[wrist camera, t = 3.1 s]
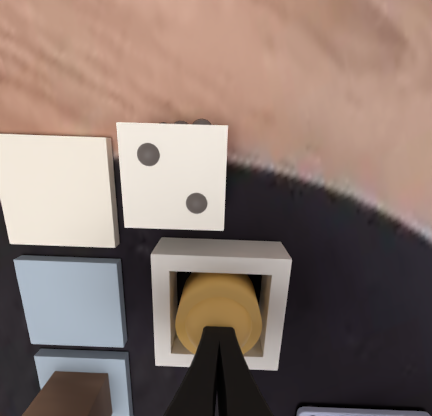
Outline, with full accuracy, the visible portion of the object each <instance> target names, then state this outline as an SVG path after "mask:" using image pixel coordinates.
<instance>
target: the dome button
mask: <svg viewBox="0 0 432 416" xmlns="http://www.w3.org/2000/svg"><path fill="white" fill-rule="evenodd" d="M205 326H217V327H233V328H234V329H235V333H236V337H237V340H238V343H239V346H240V348H241V351H242V354H245V353H246V352H248V351H249V350H250V349H251V348H252V347H253V346H254V345H255V344H256V343H257V341H258V339H259V337H260V335H261V331H262V318H261V314H260V310H259V306H258V301H257V297H256V293H255V289H254V286H253V283H252V281H251V279H250V278H249V276H248V275H247V274H232V273H206V272H192V273H191V274H190V276H189V277H188V278H187V280H186V282H185V284H184V287H183V291H182V295H181V299H180V303H179V307H178V311H177V315H176V319H175V328H176V333H177V335H178V338H179V340H180V341H181V343H182V344H183V345H184V346H185V347H186V348H187V349H188V350H189V351H190V352H192V353H193V354H195V353H196V351H197V348H198V345H199V342H200V339H201V336H202V332H203V328H204V327H205Z"/></svg>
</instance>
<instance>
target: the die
mask: <svg viewBox="0 0 432 416" xmlns="http://www.w3.org/2000/svg"><path fill="white" fill-rule="evenodd" d="M116 125H117V137H118V150H119V163H120V175H121V188H122V200H123V213H124V226H125V228H153V229H184V230H215V231H224V213H225V188H226V162H227V137H228V126H227V125H211V123H210V122H209V121H207V120H205V119H198V120H196V121H195V122H194V123H193V124H188V123H186V122H184V121H177V122H175V123H174V124H168V123H165V122H162V123H159V124H158V123H123V122H116Z"/></svg>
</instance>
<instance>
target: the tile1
mask: <svg viewBox="0 0 432 416" xmlns="http://www.w3.org/2000/svg"><path fill="white" fill-rule="evenodd" d="M14 265H15V269H16V274H17V279H18V283H19V288H20V293H21V298H22V302H23V307H24V312H25V316H26V321H27V326H28V331H29V335H30V340H31V344H48V345H73V346H99V347H124V346H125V344H126V342H127V330H126V318H125V305H124V293H123V280H122V268H121V259H112V258H85V257H58V256H32V255H21V256H20V257H18V258H16V259H14Z"/></svg>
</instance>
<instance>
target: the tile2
mask: <svg viewBox="0 0 432 416" xmlns="http://www.w3.org/2000/svg"><path fill="white" fill-rule="evenodd" d="M0 199H1V204H2V208H3V213H4V218H5V222H6V227H7V232H8V236H9V241H10V244H26V245H53V246H79V247H106V248H116V247H117V246H118V245H119V244H120V242H119V230H118V217H117V205H116V192H115V180H114V167H113V155H112V142H111V138H103V137H75V136H47V135H19V134H0Z"/></svg>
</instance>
